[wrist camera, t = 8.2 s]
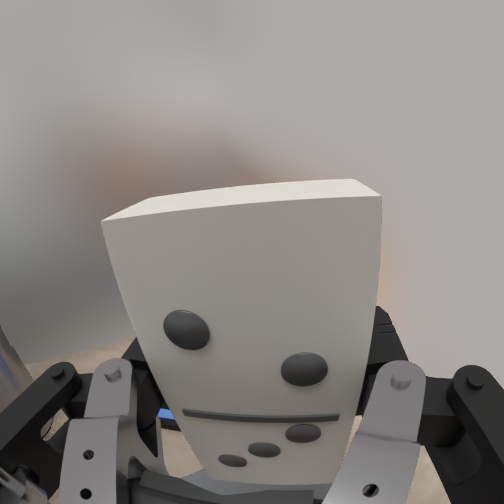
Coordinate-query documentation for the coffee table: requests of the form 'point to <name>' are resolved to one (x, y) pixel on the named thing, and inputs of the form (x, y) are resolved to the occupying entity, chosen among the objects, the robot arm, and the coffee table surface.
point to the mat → (249, 486)
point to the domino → (255, 318)
